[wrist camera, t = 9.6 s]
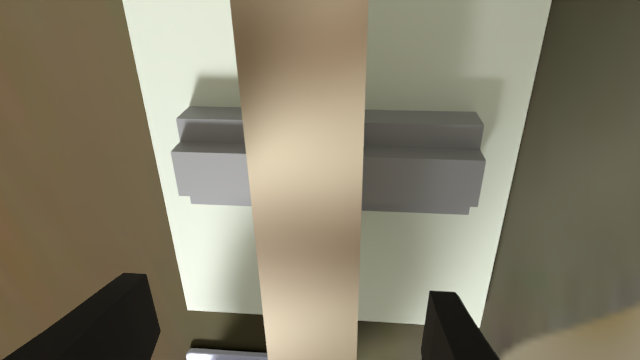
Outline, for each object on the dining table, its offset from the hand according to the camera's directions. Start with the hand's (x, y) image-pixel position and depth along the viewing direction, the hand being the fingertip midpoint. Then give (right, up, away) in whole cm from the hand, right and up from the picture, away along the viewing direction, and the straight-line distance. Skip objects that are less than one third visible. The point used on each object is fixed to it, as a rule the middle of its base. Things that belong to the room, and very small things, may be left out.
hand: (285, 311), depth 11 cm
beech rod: (+1, +4, +6) cm, 7 cm away
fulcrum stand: (+1, +5, +9) cm, 10 cm away
